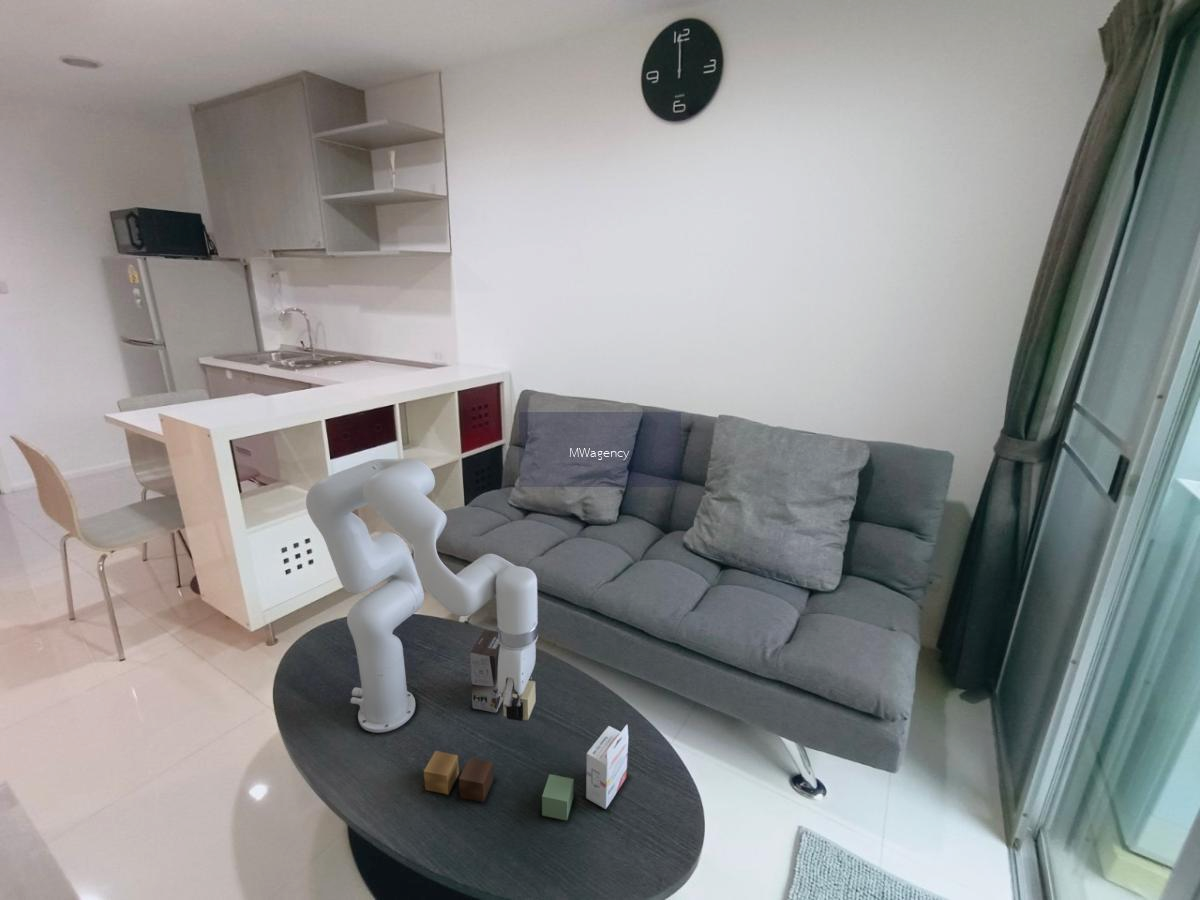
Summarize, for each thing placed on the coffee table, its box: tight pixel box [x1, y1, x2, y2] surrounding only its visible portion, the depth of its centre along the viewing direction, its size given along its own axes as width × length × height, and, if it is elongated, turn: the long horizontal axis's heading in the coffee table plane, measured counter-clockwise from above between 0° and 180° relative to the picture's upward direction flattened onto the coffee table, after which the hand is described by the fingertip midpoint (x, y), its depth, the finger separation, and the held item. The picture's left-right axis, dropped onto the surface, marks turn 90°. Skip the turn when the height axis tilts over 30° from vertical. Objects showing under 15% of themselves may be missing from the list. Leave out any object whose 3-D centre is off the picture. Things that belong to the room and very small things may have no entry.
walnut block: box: [458, 757, 494, 803], centre depth 110 cm, size 5×5×5 cm
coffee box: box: [469, 629, 506, 714], centre depth 132 cm, size 9×6×16 cm
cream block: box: [502, 680, 537, 721], centre depth 108 cm, size 5×5×5 cm
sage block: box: [541, 773, 575, 822], centre depth 107 cm, size 5×5×5 cm
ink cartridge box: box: [585, 724, 630, 810], centre depth 110 cm, size 9×5×15 cm, turn 148°
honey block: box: [423, 750, 460, 796], centre depth 112 cm, size 5×5×5 cm
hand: (519, 707), depth 109 cm, fingers closed on cream block, 5 cm apart
